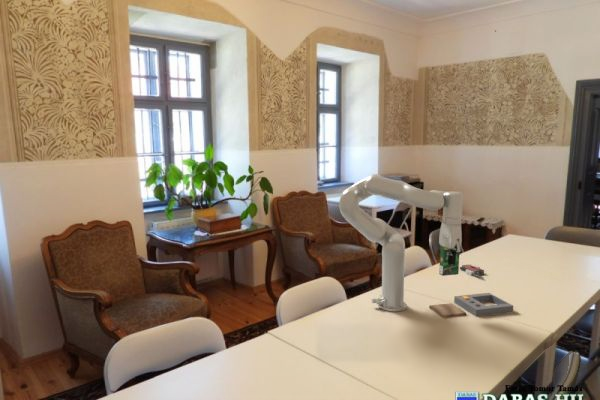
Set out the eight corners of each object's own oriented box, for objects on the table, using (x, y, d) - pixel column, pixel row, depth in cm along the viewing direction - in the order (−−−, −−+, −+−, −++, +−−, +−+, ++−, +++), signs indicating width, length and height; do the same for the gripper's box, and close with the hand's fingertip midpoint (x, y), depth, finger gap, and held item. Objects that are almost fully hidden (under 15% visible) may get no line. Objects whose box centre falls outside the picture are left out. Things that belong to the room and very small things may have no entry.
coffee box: (442, 276, 179) (444, 246, 177) (438, 274, 182) (440, 244, 180) (458, 274, 181) (460, 245, 179) (454, 272, 184) (456, 243, 182)
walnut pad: (442, 317, 177) (442, 315, 177) (429, 307, 187) (429, 305, 187) (466, 315, 179) (466, 312, 179) (451, 305, 190) (451, 303, 190)
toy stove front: (475, 316, 177) (476, 308, 177) (454, 302, 193) (454, 295, 192) (513, 312, 181) (513, 304, 181) (488, 298, 197) (489, 291, 196)
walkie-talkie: (456, 270, 241) (481, 281, 223) (456, 262, 241) (481, 273, 222) (468, 268, 244) (494, 279, 225) (469, 261, 244) (495, 271, 225)
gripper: (433, 217, 185) (431, 258, 188) (455, 225, 169) (452, 269, 172) (448, 217, 187) (446, 257, 189) (471, 224, 171) (468, 268, 174)
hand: (449, 262), depth 181 cm, fingers closed on coffee box, 3 cm apart
